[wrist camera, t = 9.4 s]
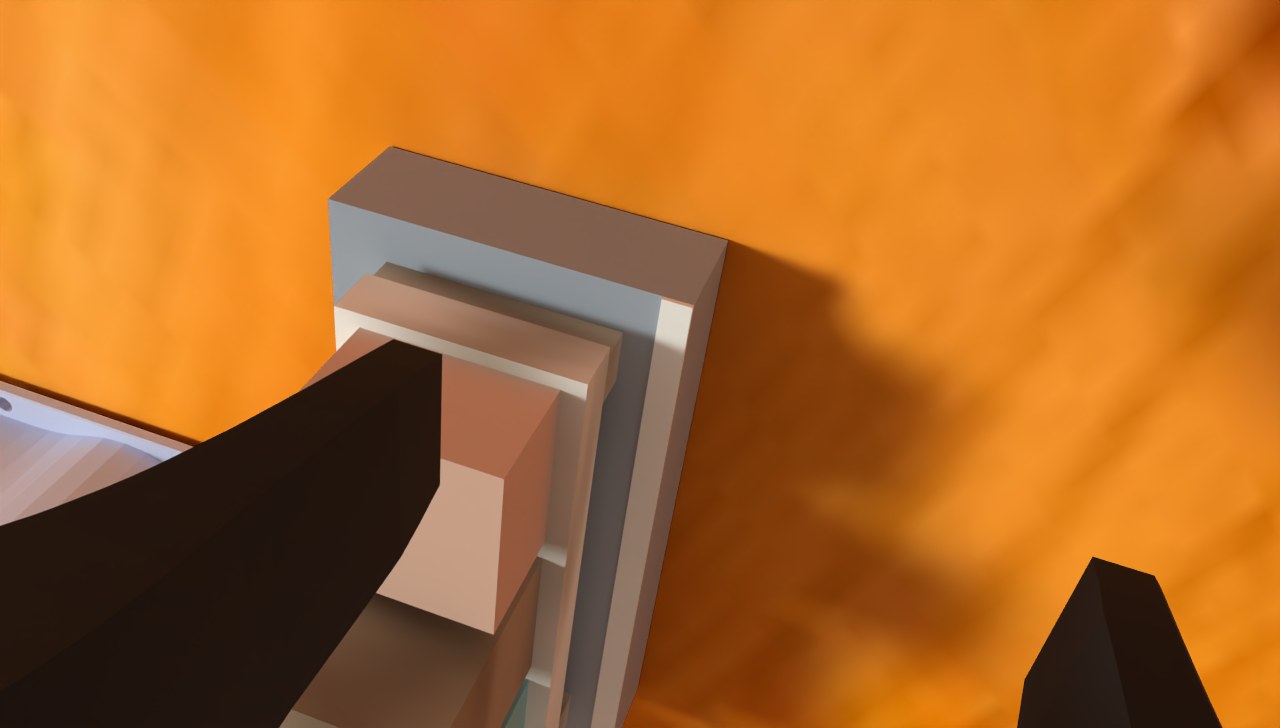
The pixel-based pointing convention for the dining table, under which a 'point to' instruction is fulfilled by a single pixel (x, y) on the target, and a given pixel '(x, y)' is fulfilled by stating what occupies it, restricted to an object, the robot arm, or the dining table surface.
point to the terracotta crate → (476, 490)
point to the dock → (590, 291)
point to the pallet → (569, 441)
